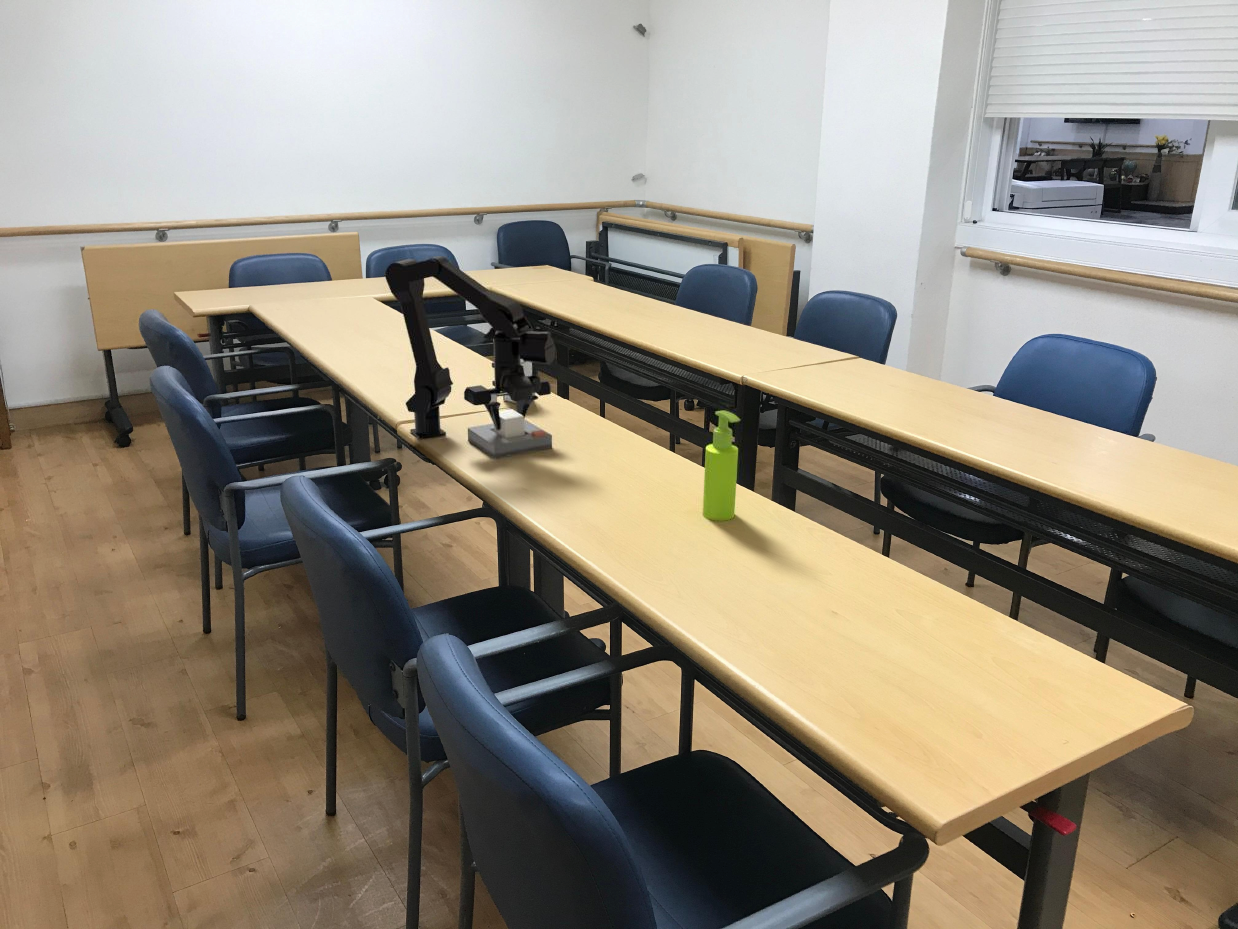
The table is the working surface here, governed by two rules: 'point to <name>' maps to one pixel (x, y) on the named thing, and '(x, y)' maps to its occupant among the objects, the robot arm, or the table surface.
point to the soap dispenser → (721, 471)
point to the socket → (509, 440)
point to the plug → (510, 424)
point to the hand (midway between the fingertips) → (509, 427)
